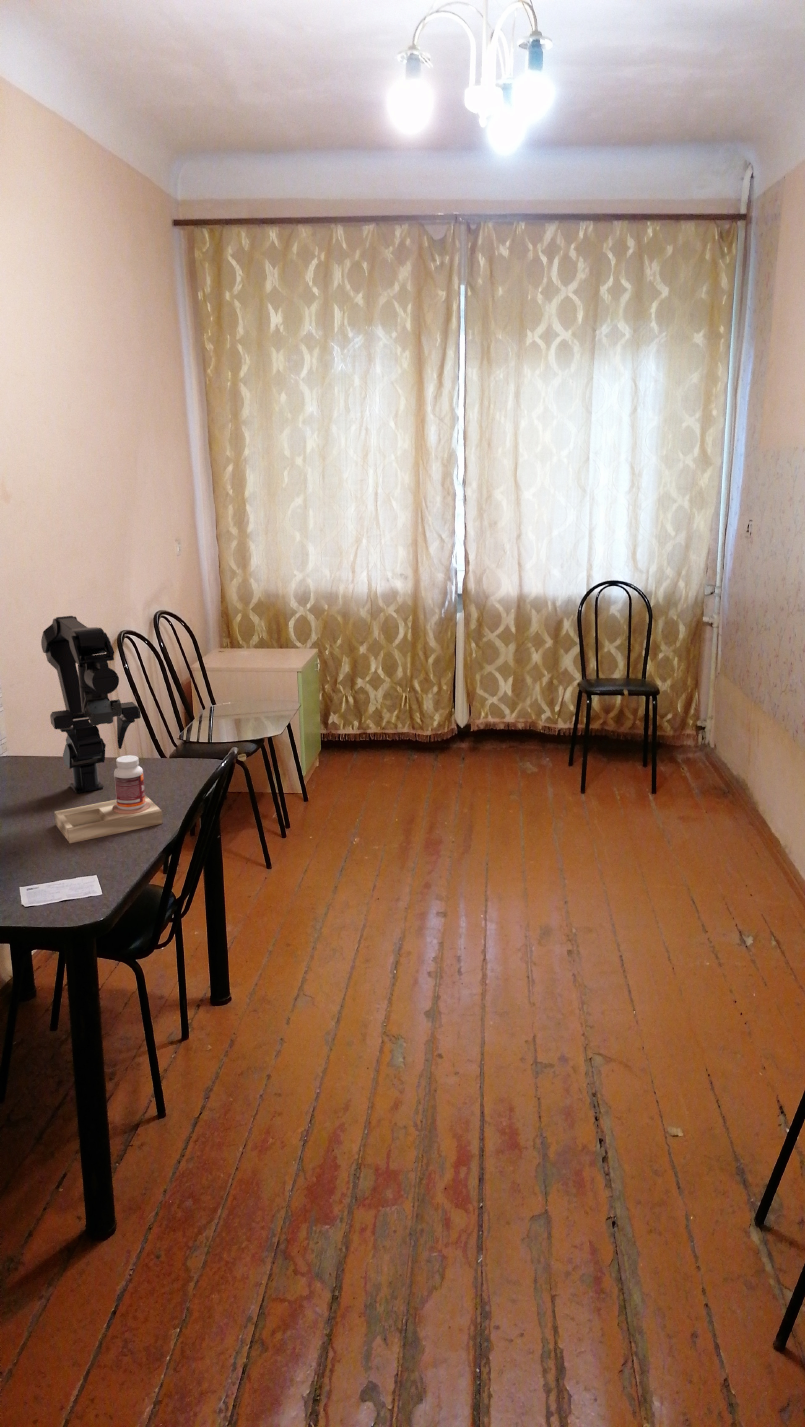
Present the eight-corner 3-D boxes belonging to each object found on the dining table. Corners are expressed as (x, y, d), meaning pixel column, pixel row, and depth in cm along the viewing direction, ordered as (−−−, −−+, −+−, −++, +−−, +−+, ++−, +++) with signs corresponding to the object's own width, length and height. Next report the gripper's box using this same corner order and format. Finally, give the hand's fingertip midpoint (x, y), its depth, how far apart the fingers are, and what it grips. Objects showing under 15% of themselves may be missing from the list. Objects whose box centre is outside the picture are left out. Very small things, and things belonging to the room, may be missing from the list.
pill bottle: (149, 807, 211) (145, 760, 208) (121, 813, 207) (117, 765, 204) (140, 798, 216) (136, 752, 213) (113, 804, 212) (108, 757, 209)
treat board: (55, 824, 210) (54, 810, 209) (145, 806, 220) (144, 792, 219) (69, 843, 200) (68, 828, 199) (162, 823, 211) (161, 809, 210)
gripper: (55, 698, 202) (62, 768, 206) (144, 687, 210) (149, 755, 214) (46, 686, 211) (53, 754, 215) (132, 677, 220) (137, 742, 224)
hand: (99, 751), depth 217 cm, fingers open, 9 cm apart
